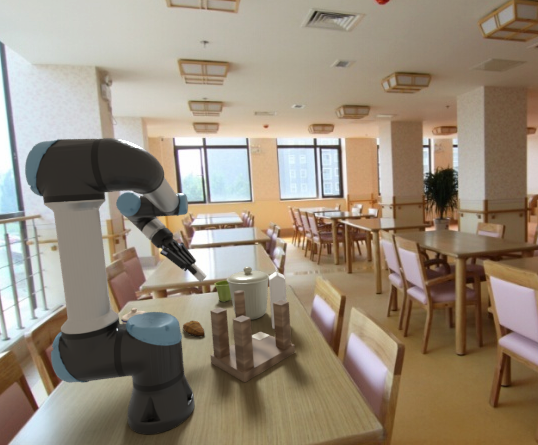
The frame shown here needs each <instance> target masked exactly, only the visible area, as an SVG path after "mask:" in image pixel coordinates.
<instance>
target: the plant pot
mask: <svg viewBox="0 0 538 445" xmlns="http://www.w3.org/2000/svg"><path fill="white" fill-rule="evenodd" d="M214 286H215V288H216V292H217V296H218V300H219V301H220V302H222V303H223V302H224V303H225V302H228V301H229V302H230V301H232V299H231V293H230V288H229V283H228V282H227V279H226V280H220V281H219V280H218V281H217V282H214Z"/></svg>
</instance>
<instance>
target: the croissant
mask: <svg viewBox="0 0 538 445" xmlns="http://www.w3.org/2000/svg"><path fill="white" fill-rule="evenodd" d="M182 330H183V331H184V332H185V333H186V334H187V335H190V336H194V337H197V338H202V337H204V336H205V330H204V328H203V326H202V325H201V323H200V321H197V320H190V321H189V322H188V321H187V322H185V323H184V324H183V325H182Z"/></svg>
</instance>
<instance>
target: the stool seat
mask: <svg viewBox="0 0 538 445" xmlns="http://www.w3.org/2000/svg"><path fill="white" fill-rule="evenodd" d="M273 310H274V326H275V329H274V336H273V335H270V334H268V333H265V332H262V331H259V332H256V333H254V334H252V331H253V330H252V320H251V318H249V317H246V316H243V315H242V316H240V317H237V318H236V317H235V318H232V326H233V338H234V339H233V341H234V343H233V344H231V345H230V337H229V324H228V311H227V309H226V308H223V307H216V308H214V309H212V310H210V322H211V324H210V325H211V336H212V346H213V347H212V348H213V353H211V354H210V364H212V365H214V366H215V367H217V368H219V369H221V370H222V371H224V372H225V373H228V374H229V375H231V376H233V377H234V378H236V379H238V380H240V381H241V382H242V383H247V382H248V381H250V380H251V379H253V378H255V377H256V376H258V375H260V374H262V373H263V372H265V371H266V370H269V369H270V368H272V367H273V366H275V365H276V364H279V363H280V362H282V361H284V360H285V359H288V357H290V356H292V355H293V354H295V353H296V347H295V346H296V345H295V344H294V343H292V334H291V332H292V331H291V317H290V316H291V315H290V302H289V301H283V300H279V301H277V302H274V303H273Z"/></svg>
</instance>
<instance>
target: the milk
mask: <svg viewBox="0 0 538 445" xmlns="http://www.w3.org/2000/svg"><path fill="white" fill-rule="evenodd" d="M286 285H287V283H286V278H285V275H284V274H282V273H280V272H278V270H277V268H275V271H274V272H273V273H271V274H269V279H268V289H269V301H270V315H271V326H272V327H271V328H272V329H274V330H275V326H274V310H273V303H274V302H277V301H279V300H283V301H287V300H288V299H287V286H286ZM287 302H288V301H287Z"/></svg>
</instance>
